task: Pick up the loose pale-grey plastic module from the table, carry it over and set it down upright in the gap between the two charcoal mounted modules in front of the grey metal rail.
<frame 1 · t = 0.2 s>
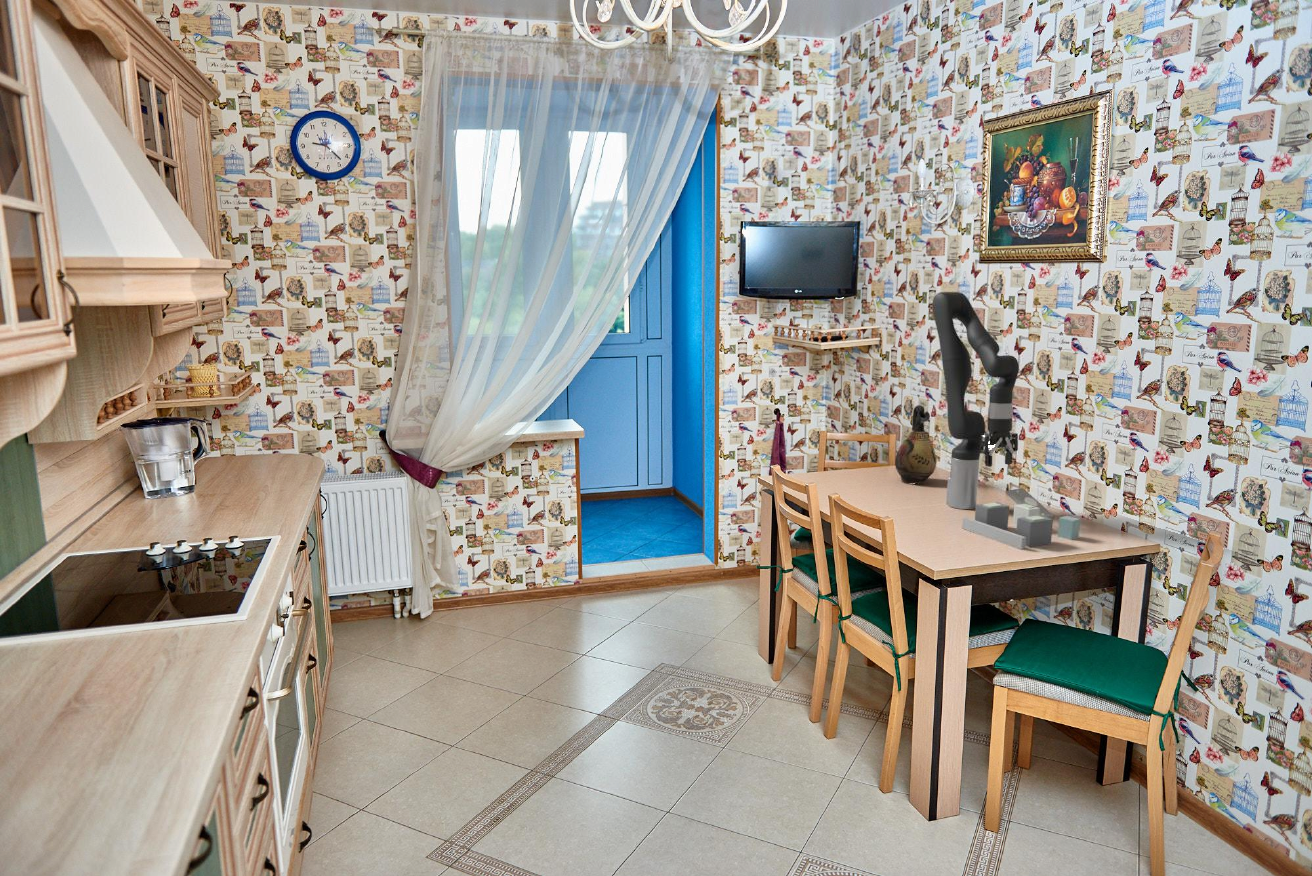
hand: (998, 465, 291), 17 cm above the table, tool pointing down, fingers open, 8 cm apart
ceramic jug: (913, 481, 346), on the table
module: (1025, 527, 281), on the table
rail mount: (1011, 535, 272), on the table
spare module: (1067, 537, 271), on the table
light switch: (1028, 516, 296), on the table
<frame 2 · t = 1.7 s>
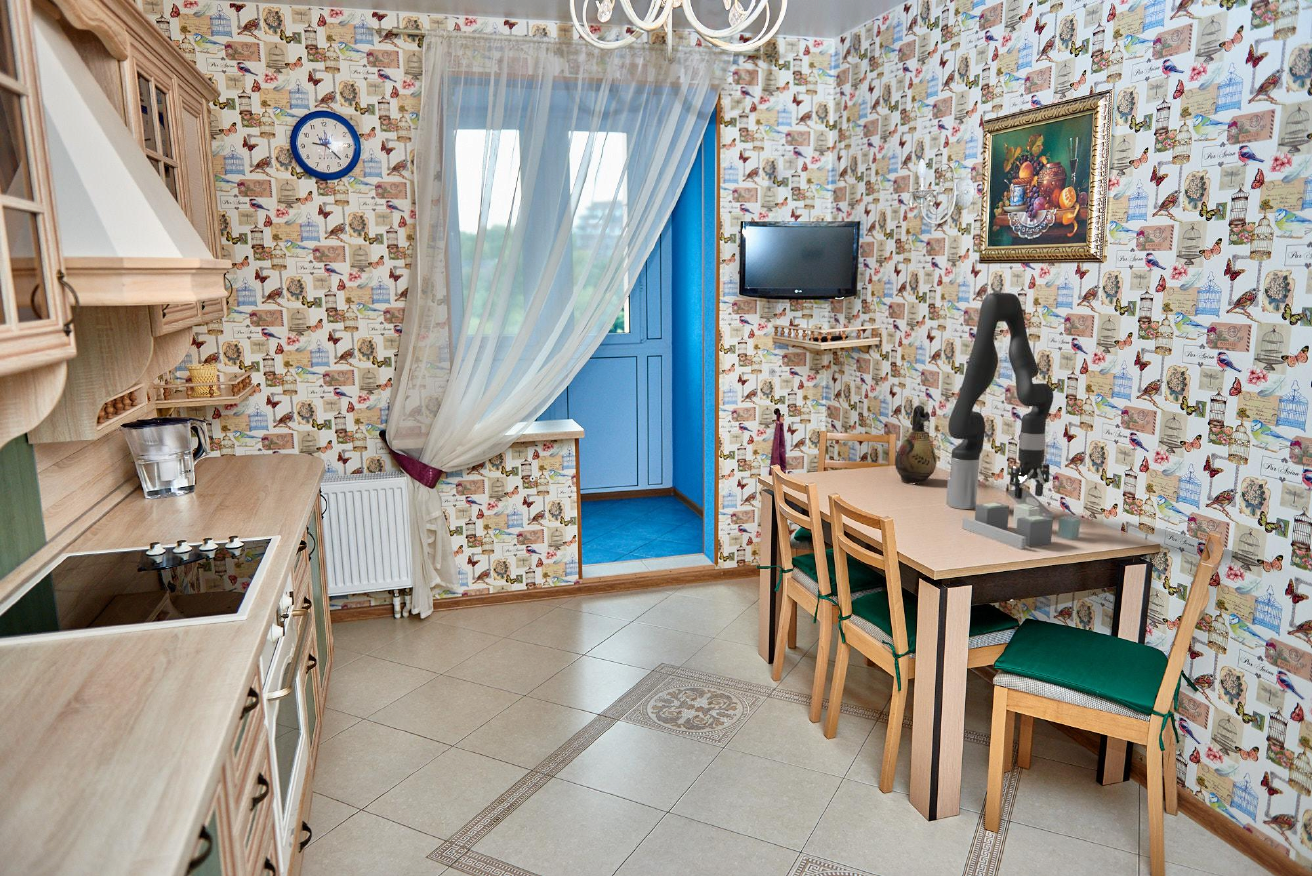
hand: (1028, 497, 279), 10 cm above the table, tool pointing down, fingers open, 8 cm apart
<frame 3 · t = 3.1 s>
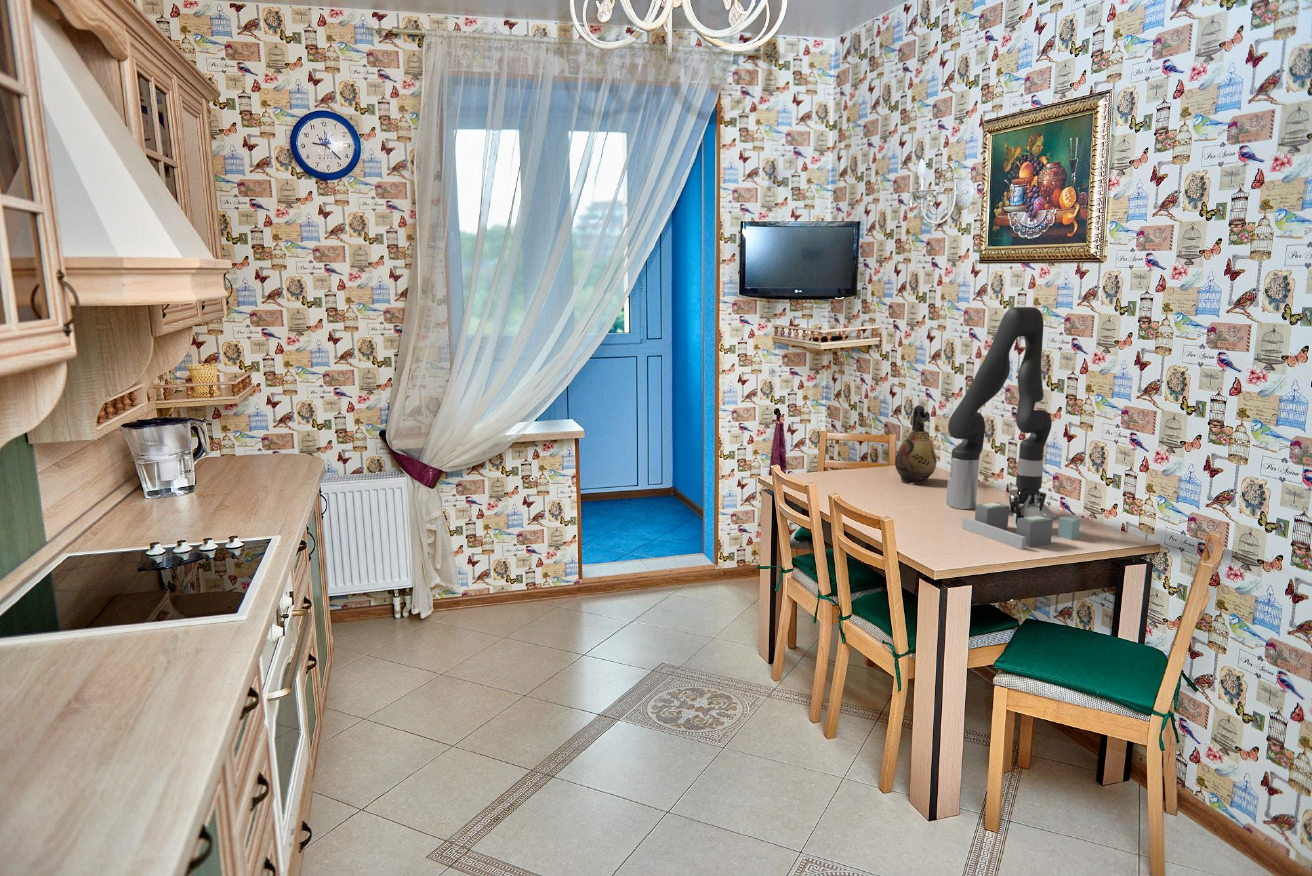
hand: (1025, 525, 281), 1 cm above the table, tool pointing down, fingers closed on module, 4 cm apart
module: (1025, 527, 281), on the table, touching gripper
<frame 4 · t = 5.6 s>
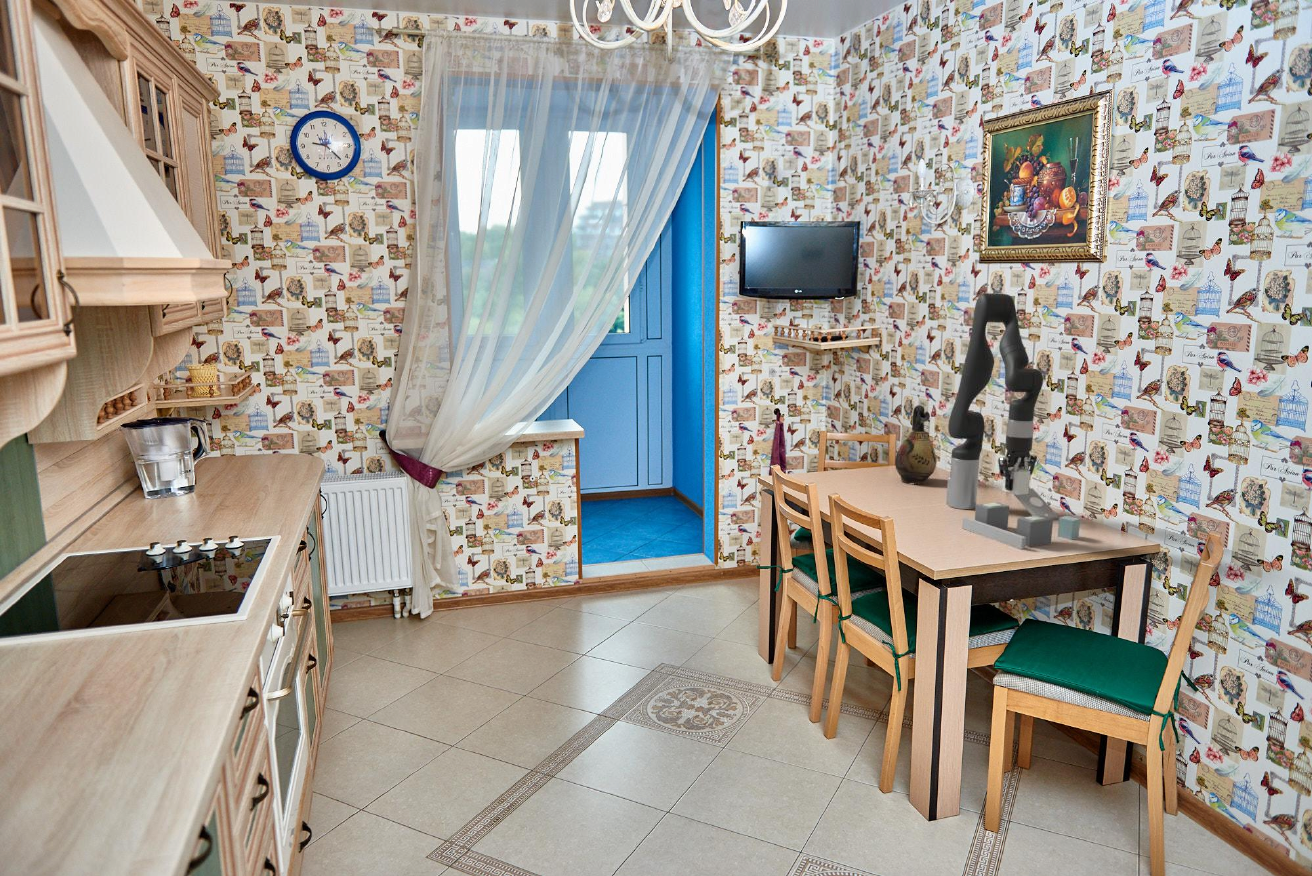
hand: (1015, 489, 270), 15 cm above the table, tool pointing down, fingers closed on module, 4 cm apart
module: (1015, 492, 270), point 14 cm above the table, touching gripper
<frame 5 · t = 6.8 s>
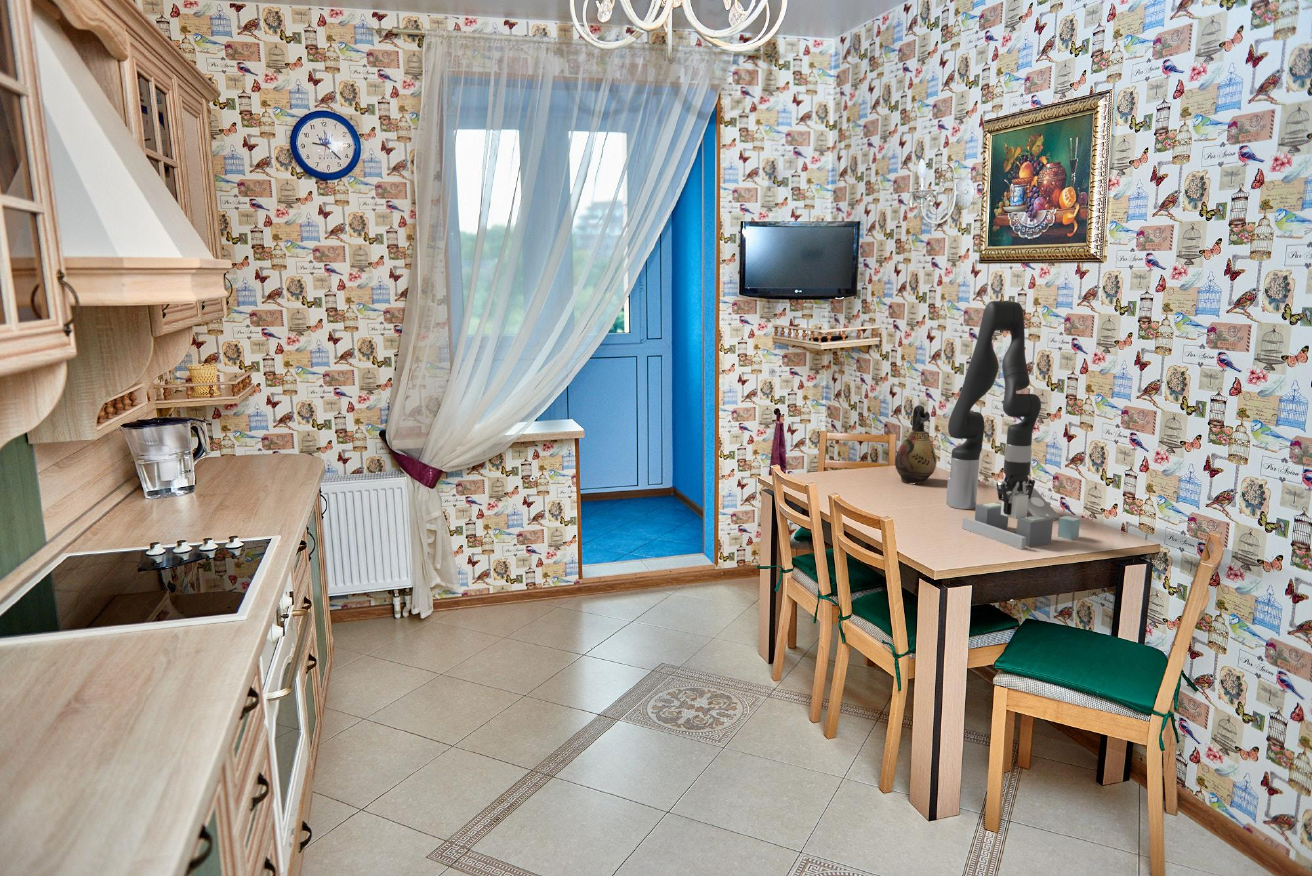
hand: (1013, 513, 271), 7 cm above the table, tool pointing down, fingers closed on module, 4 cm apart
module: (1013, 516, 271), point 6 cm above the table, touching gripper
when the fingers open (3 cm above the table, at t = 8.0 s): module drops 2 cm, on the table.
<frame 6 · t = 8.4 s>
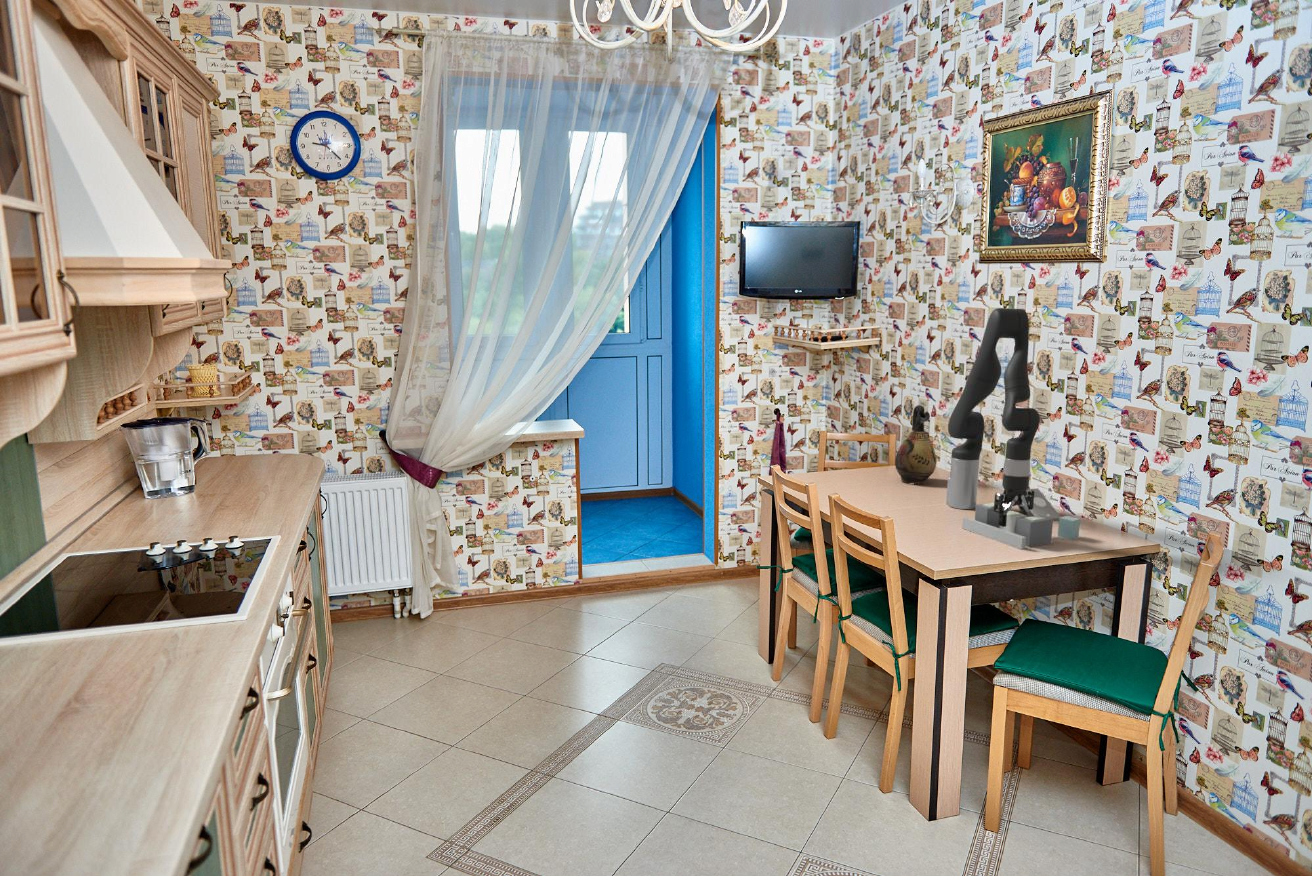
hand: (1012, 524, 271), 3 cm above the table, tool pointing down, fingers open, 7 cm apart
module: (1011, 535, 272), on the table
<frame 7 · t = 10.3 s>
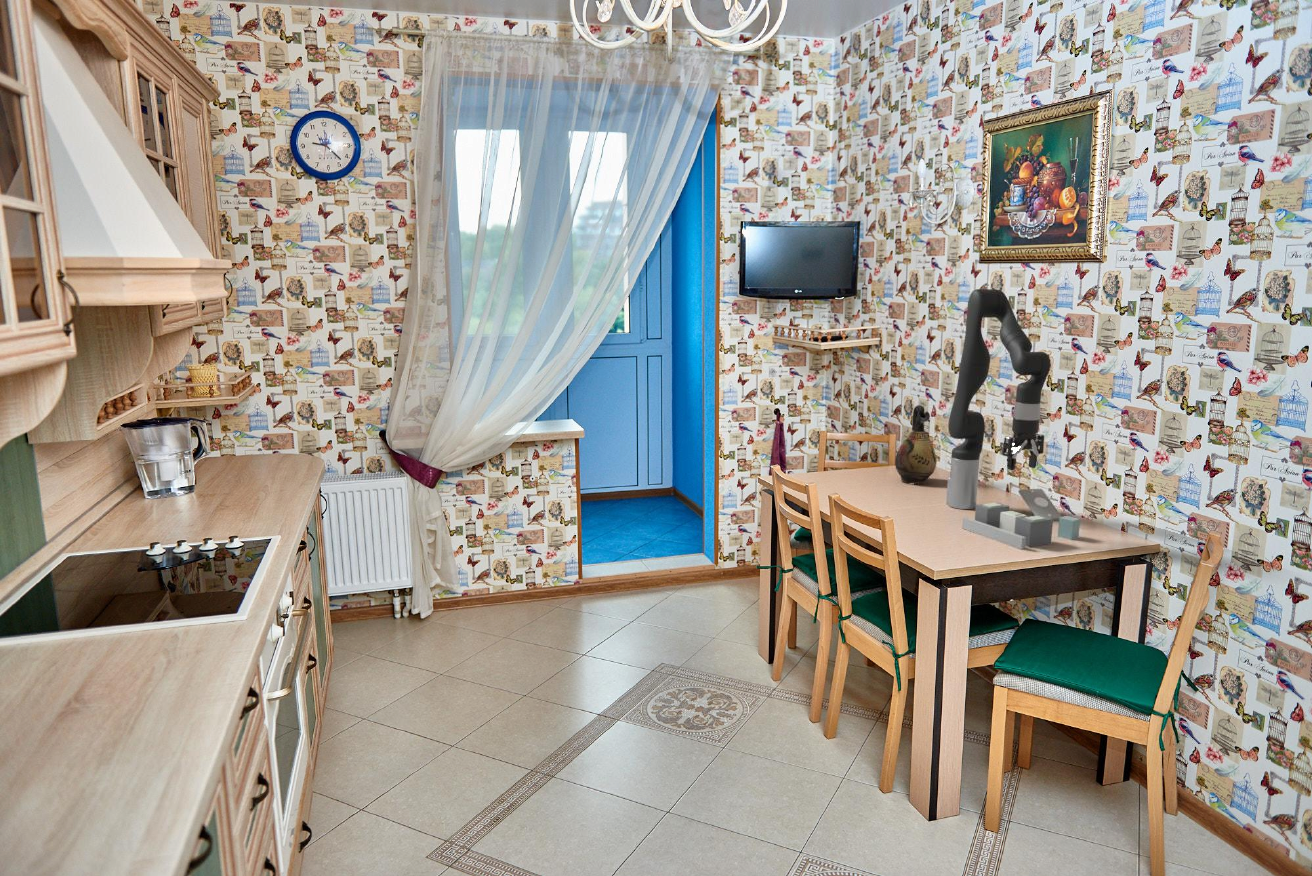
hand: (1021, 468, 273), 20 cm above the table, tool pointing down, fingers open, 8 cm apart
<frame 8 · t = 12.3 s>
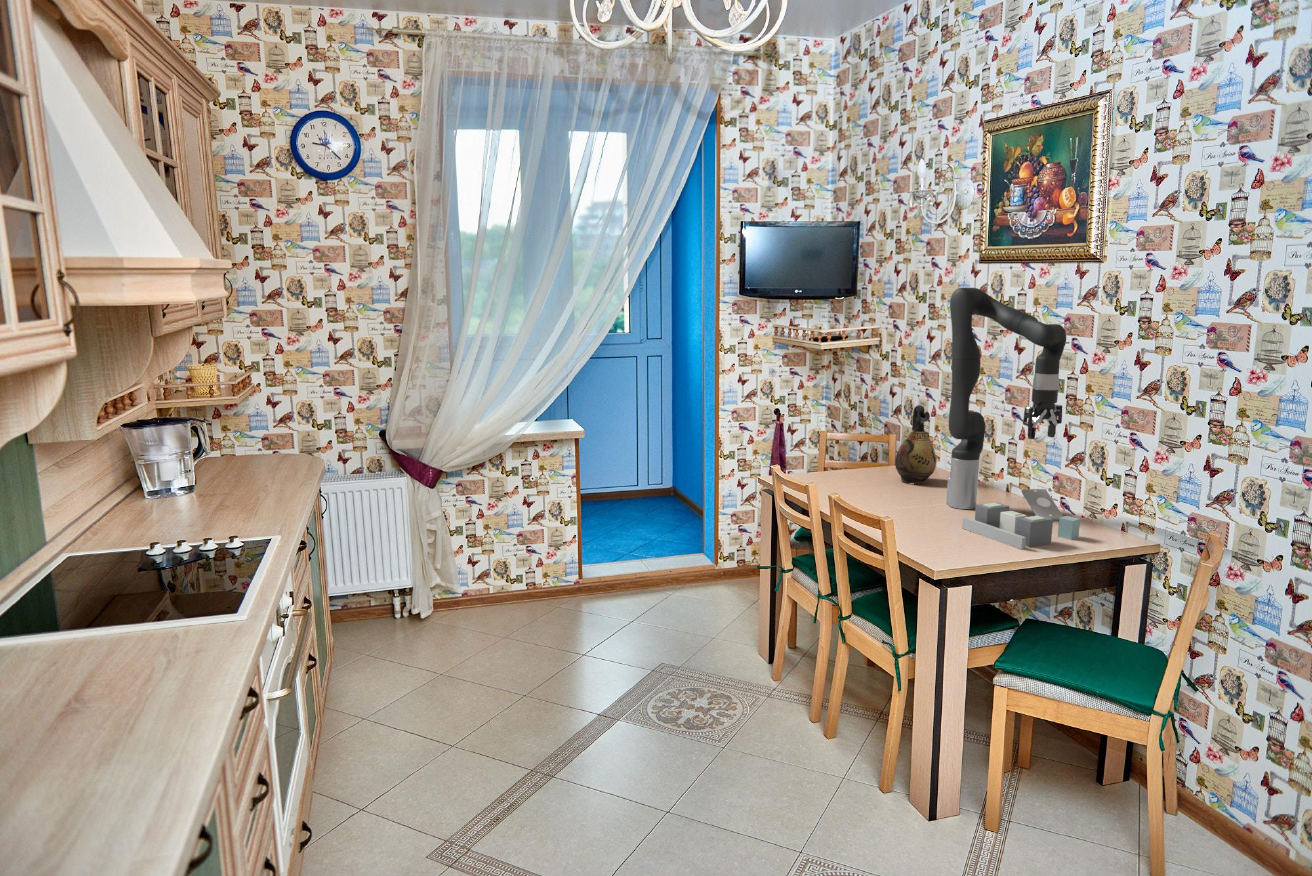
hand: (1041, 438, 282), 28 cm above the table, tool pointing down, fingers open, 8 cm apart
at the end: module inside the target area (0.2 cm from its centre), on the table; module tilted 0°; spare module moved 0.1 cm from its start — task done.
